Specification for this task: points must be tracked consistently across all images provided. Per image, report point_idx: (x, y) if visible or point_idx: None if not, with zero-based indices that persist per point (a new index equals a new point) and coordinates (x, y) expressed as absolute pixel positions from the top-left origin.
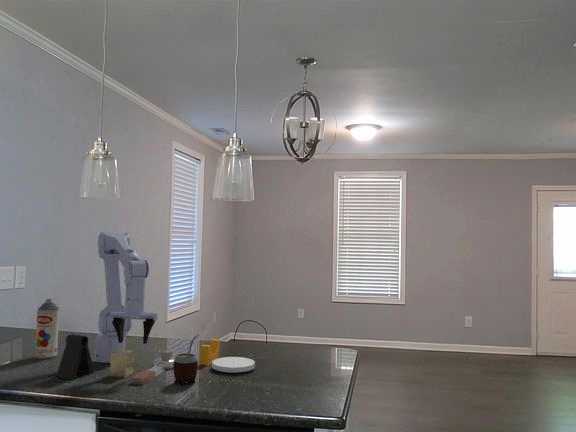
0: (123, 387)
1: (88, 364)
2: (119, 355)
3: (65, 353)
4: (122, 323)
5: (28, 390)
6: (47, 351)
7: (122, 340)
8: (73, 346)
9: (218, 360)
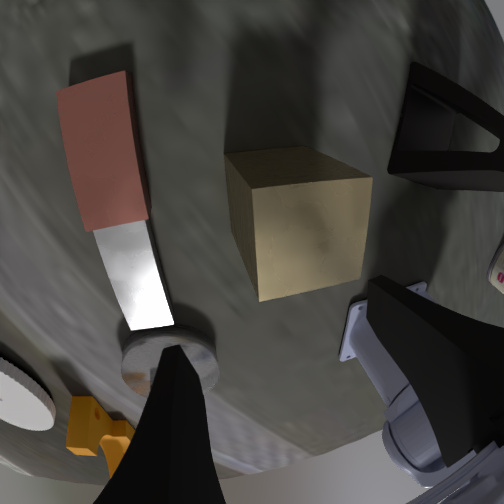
0: (136, 17)
1: (424, 151)
2: (304, 178)
3: None
4: (454, 418)
5: None
6: None
7: (372, 316)
8: None
9: (34, 405)
